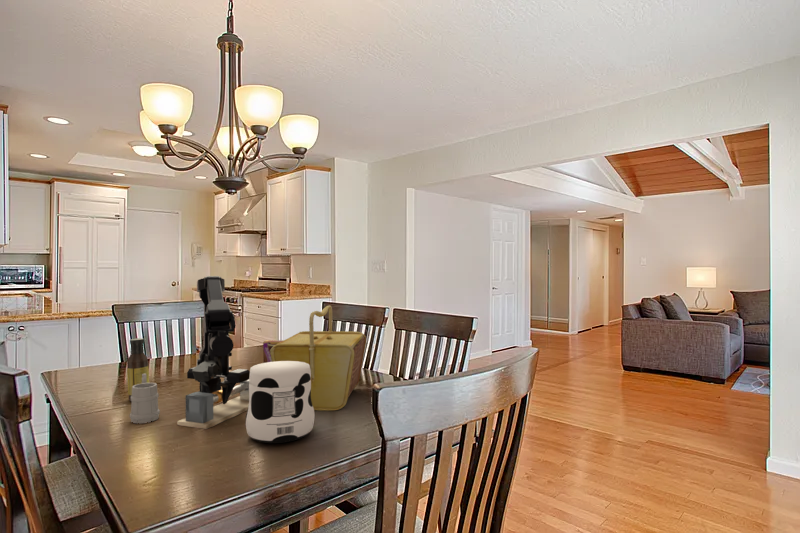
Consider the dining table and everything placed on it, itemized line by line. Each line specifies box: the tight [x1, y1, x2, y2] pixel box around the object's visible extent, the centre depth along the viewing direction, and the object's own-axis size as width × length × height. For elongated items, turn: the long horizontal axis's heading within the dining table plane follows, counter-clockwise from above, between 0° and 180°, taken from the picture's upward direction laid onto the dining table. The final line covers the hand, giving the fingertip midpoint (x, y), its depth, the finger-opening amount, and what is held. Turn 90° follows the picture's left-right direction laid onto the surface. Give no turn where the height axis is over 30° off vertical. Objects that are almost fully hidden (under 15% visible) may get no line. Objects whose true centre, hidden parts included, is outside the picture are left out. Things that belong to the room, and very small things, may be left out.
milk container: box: [244, 361, 315, 444], centre depth 123 cm, size 17×17×18 cm
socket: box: [185, 391, 214, 423], centre depth 133 cm, size 4×6×7 cm, turn 71°
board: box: [176, 395, 249, 430], centre depth 146 cm, size 33×10×1 cm, turn 161°
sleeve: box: [239, 380, 249, 401], centre depth 157 cm, size 9×4×6 cm, turn 161°
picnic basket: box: [270, 304, 367, 412], centre depth 157 cm, size 29×26×30 cm
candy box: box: [262, 339, 285, 363], centre depth 182 cm, size 9×4×15 cm, turn 89°
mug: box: [129, 374, 161, 424], centre depth 139 cm, size 8×12×12 cm, turn 30°
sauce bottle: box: [126, 337, 150, 402], centre depth 158 cm, size 6×6×20 cm
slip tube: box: [212, 382, 249, 405], centre depth 144 cm, size 22×3×3 cm, turn 161°
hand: (218, 403), depth 141 cm, fingers open, 4 cm apart
